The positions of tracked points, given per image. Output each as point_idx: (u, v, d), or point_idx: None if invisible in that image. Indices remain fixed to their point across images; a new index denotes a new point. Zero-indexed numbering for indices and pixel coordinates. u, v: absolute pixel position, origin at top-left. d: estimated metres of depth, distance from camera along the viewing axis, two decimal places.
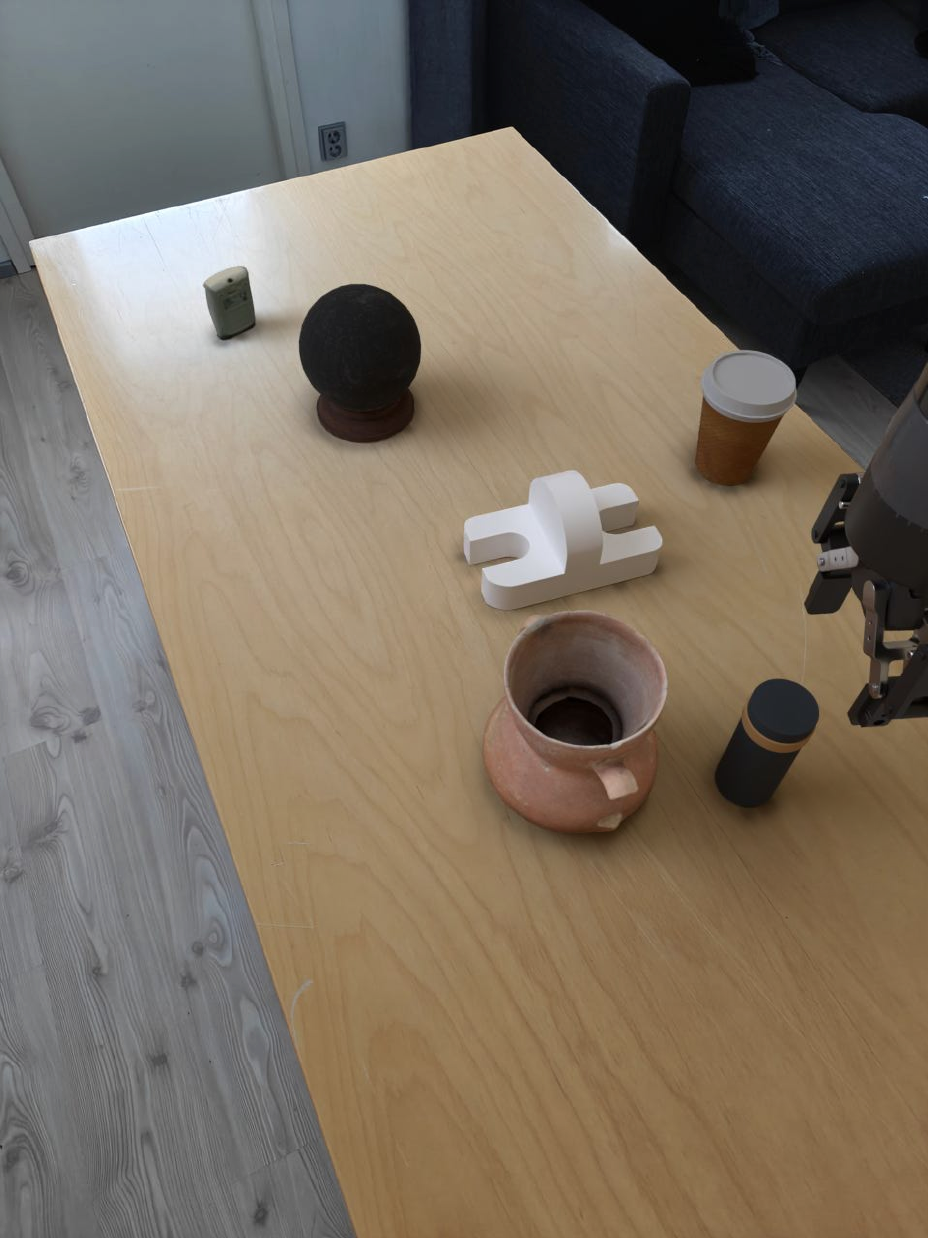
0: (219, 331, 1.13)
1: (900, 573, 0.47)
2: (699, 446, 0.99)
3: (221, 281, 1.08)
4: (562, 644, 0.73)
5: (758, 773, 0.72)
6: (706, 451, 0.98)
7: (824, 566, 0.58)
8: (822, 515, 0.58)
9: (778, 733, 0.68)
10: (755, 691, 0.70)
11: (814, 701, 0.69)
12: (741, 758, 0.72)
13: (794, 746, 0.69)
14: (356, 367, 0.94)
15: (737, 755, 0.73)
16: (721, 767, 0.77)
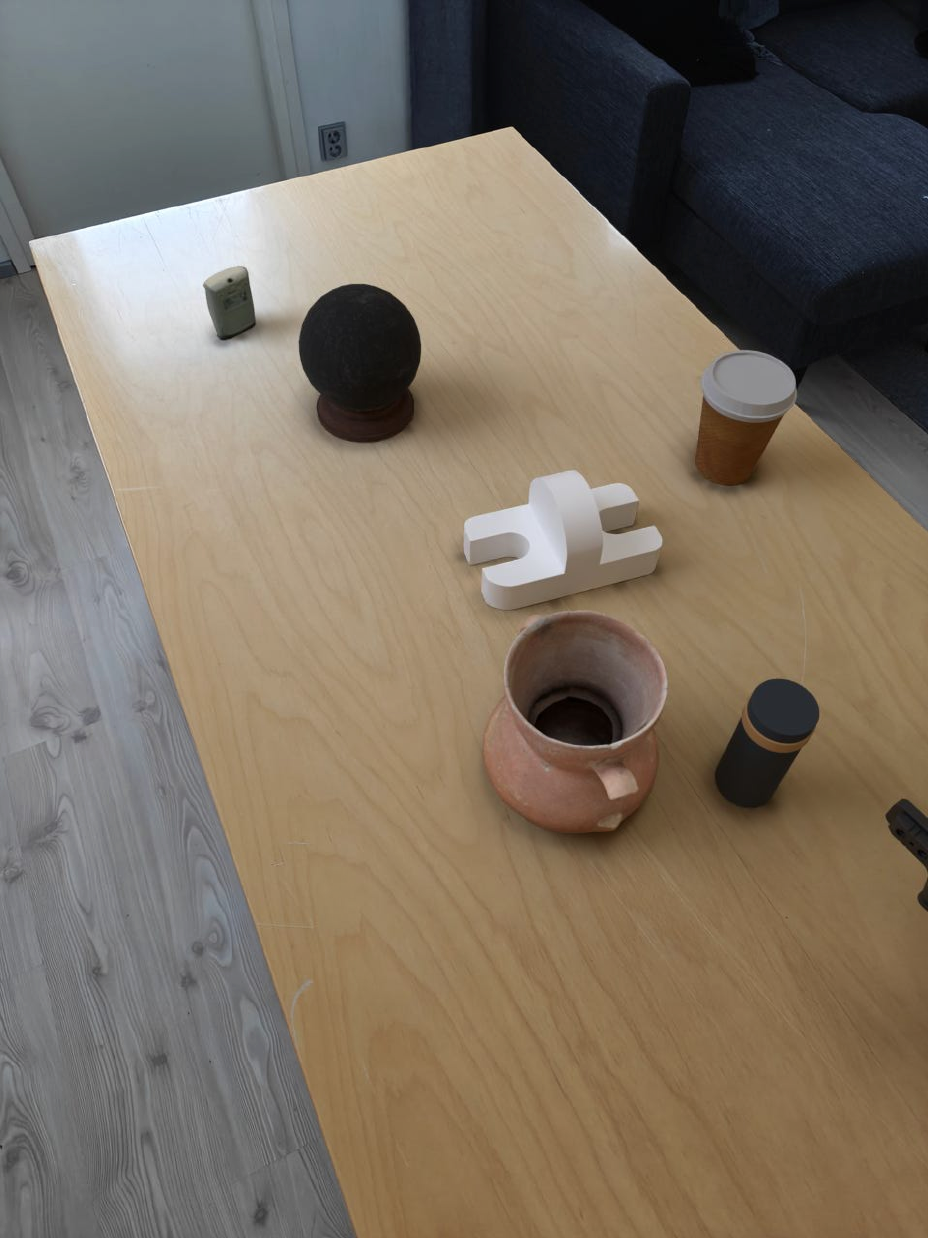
0: (219, 331, 1.13)
1: None
2: (699, 446, 0.99)
3: (221, 281, 1.08)
4: (562, 644, 0.73)
5: (758, 773, 0.72)
6: (706, 451, 0.98)
7: None
8: None
9: (778, 733, 0.68)
10: (755, 691, 0.70)
11: (814, 701, 0.69)
12: (741, 758, 0.72)
13: (794, 746, 0.69)
14: (356, 367, 0.94)
15: (737, 755, 0.73)
16: (721, 767, 0.77)
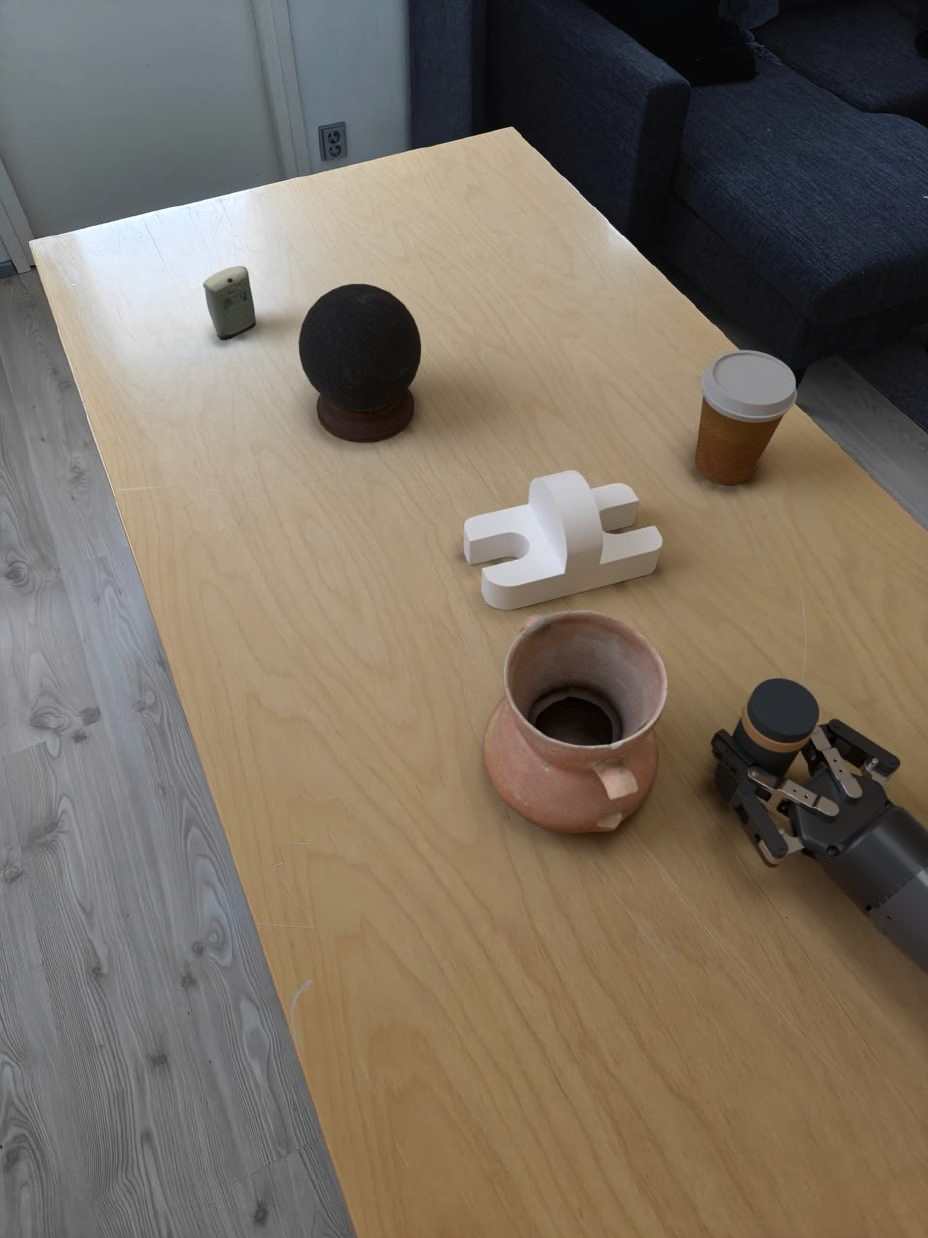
0: (219, 331, 1.13)
1: None
2: (699, 446, 0.99)
3: (221, 281, 1.08)
4: (562, 644, 0.73)
5: None
6: (706, 451, 0.98)
7: None
8: None
9: (778, 733, 0.68)
10: (755, 691, 0.70)
11: (814, 701, 0.69)
12: None
13: (794, 746, 0.69)
14: (356, 367, 0.94)
15: None
16: (721, 767, 0.77)
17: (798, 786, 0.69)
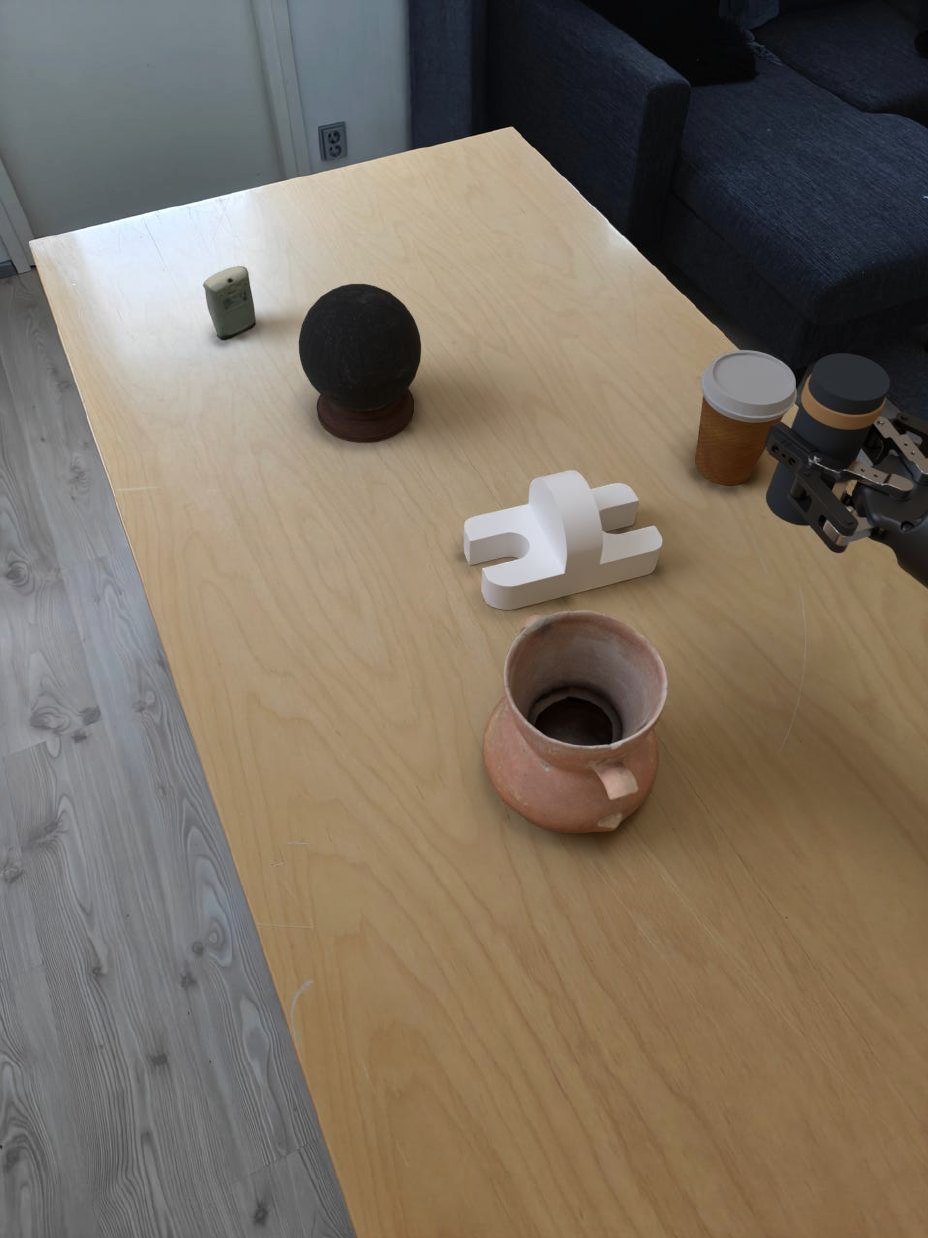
0: (219, 331, 1.13)
1: None
2: (699, 446, 0.99)
3: (221, 281, 1.08)
4: (562, 644, 0.73)
5: None
6: (706, 451, 0.98)
7: None
8: None
9: (845, 399, 0.61)
10: (817, 363, 0.63)
11: (884, 372, 0.62)
12: None
13: (863, 418, 0.62)
14: (356, 367, 0.94)
15: None
16: (774, 479, 0.70)
17: (866, 466, 0.62)
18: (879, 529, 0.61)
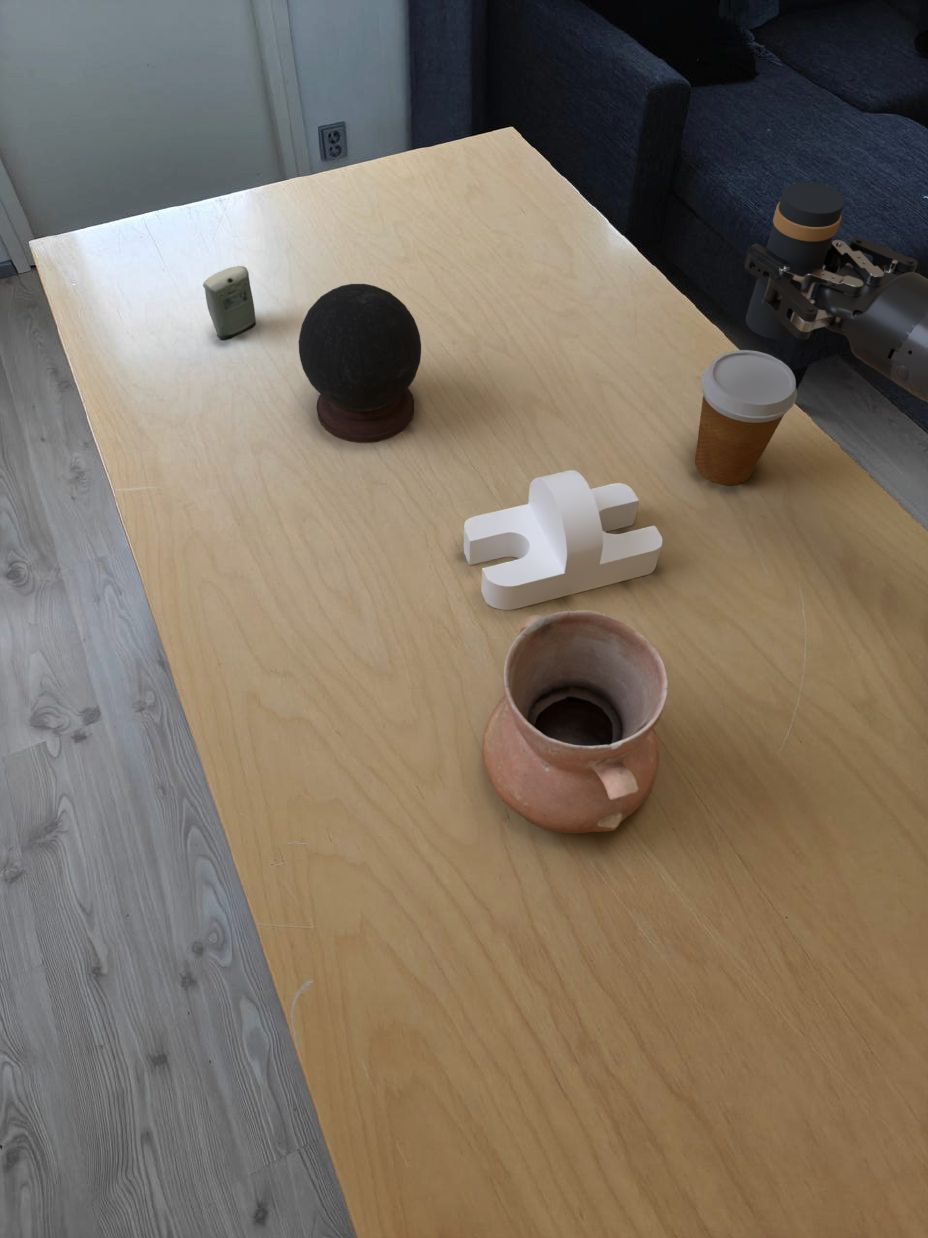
0: (219, 331, 1.13)
1: None
2: (699, 446, 0.99)
3: (221, 281, 1.08)
4: (562, 644, 0.73)
5: None
6: (706, 451, 0.98)
7: None
8: None
9: (808, 213, 0.75)
10: (786, 188, 0.77)
11: (839, 194, 0.76)
12: None
13: (822, 230, 0.76)
14: (356, 367, 0.94)
15: None
16: (752, 300, 0.84)
17: (826, 271, 0.76)
18: (836, 319, 0.75)
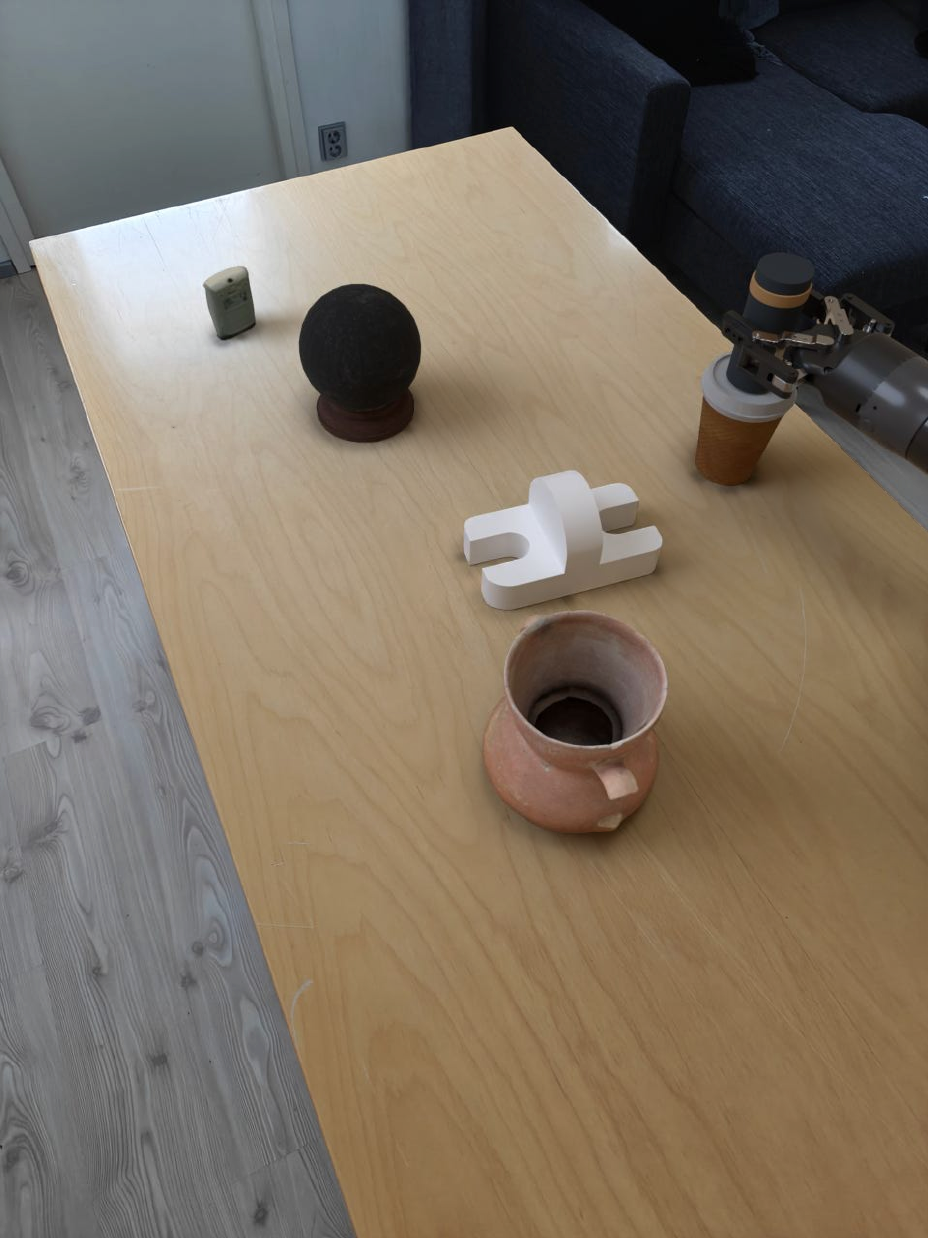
0: (219, 331, 1.13)
1: None
2: (699, 446, 0.99)
3: (221, 281, 1.08)
4: (562, 644, 0.73)
5: None
6: (706, 451, 0.98)
7: None
8: None
9: (780, 283, 0.81)
10: (761, 259, 0.83)
11: (810, 265, 0.83)
12: None
13: (794, 299, 0.82)
14: (356, 367, 0.94)
15: None
16: (732, 356, 0.90)
17: (796, 333, 0.82)
18: None
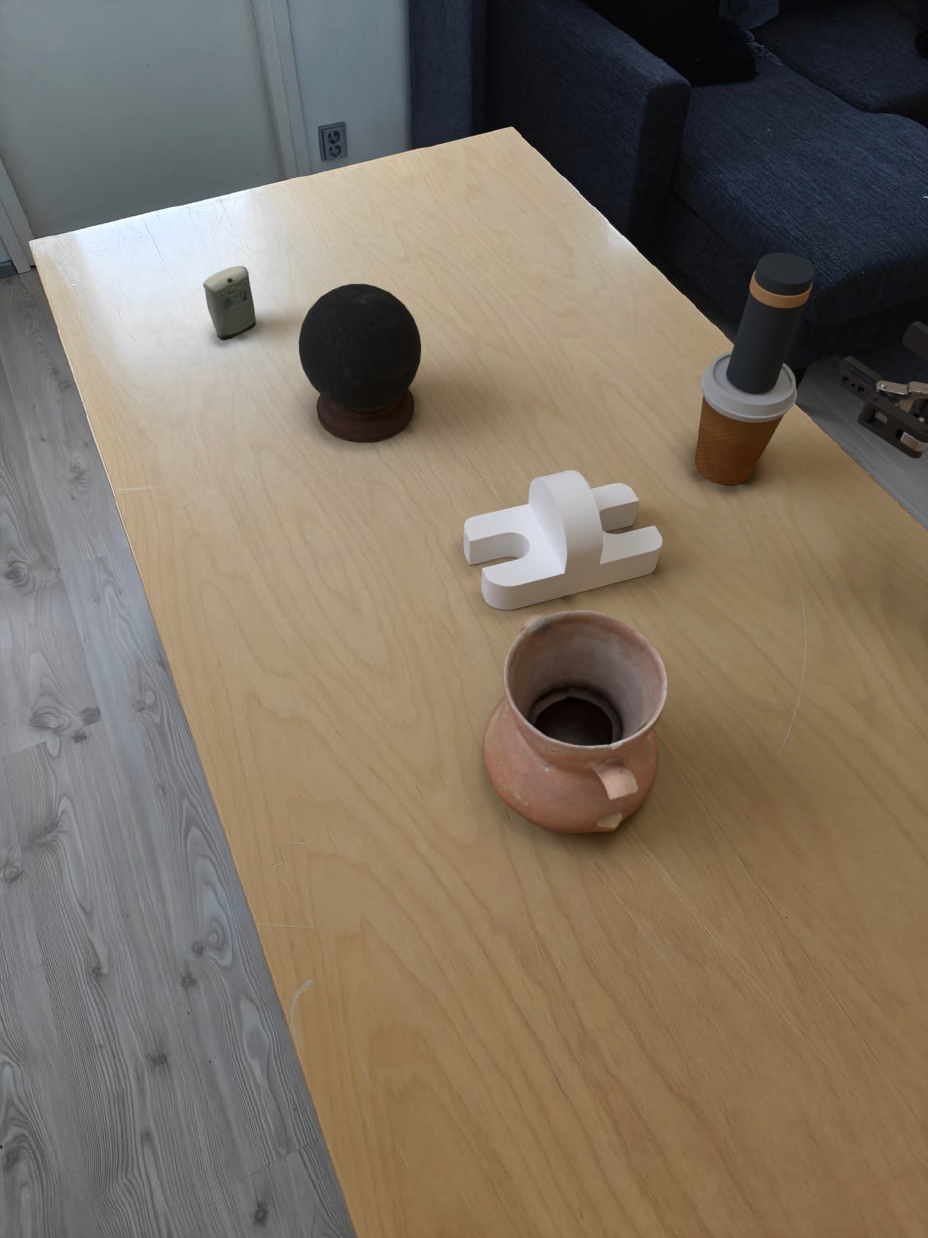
0: (219, 331, 1.13)
1: None
2: (699, 446, 0.99)
3: (221, 281, 1.08)
4: (562, 644, 0.73)
5: (763, 342, 0.86)
6: (706, 451, 0.98)
7: None
8: None
9: (780, 283, 0.81)
10: (761, 259, 0.83)
11: (810, 265, 0.83)
12: (749, 329, 0.86)
13: (794, 299, 0.82)
14: (356, 367, 0.94)
15: (745, 329, 0.87)
16: (732, 356, 0.90)
17: (926, 384, 0.74)
18: None
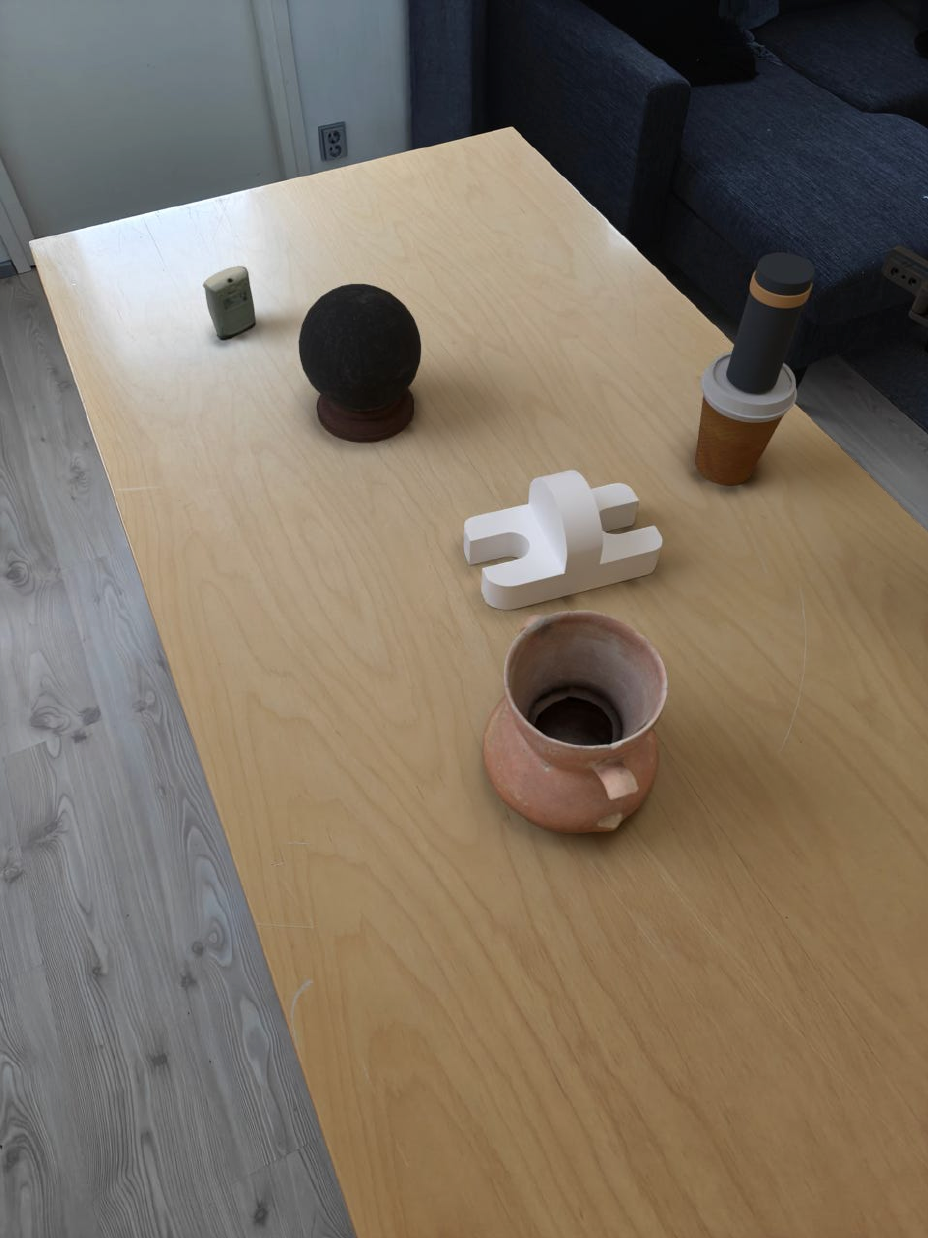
0: (219, 331, 1.13)
1: None
2: (699, 446, 0.99)
3: (221, 281, 1.08)
4: (562, 644, 0.73)
5: (763, 342, 0.86)
6: (706, 451, 0.98)
7: None
8: None
9: (780, 283, 0.81)
10: (761, 259, 0.83)
11: (810, 265, 0.83)
12: (749, 329, 0.86)
13: (794, 299, 0.82)
14: (356, 367, 0.94)
15: (745, 329, 0.87)
16: (732, 356, 0.90)
17: None
18: None
